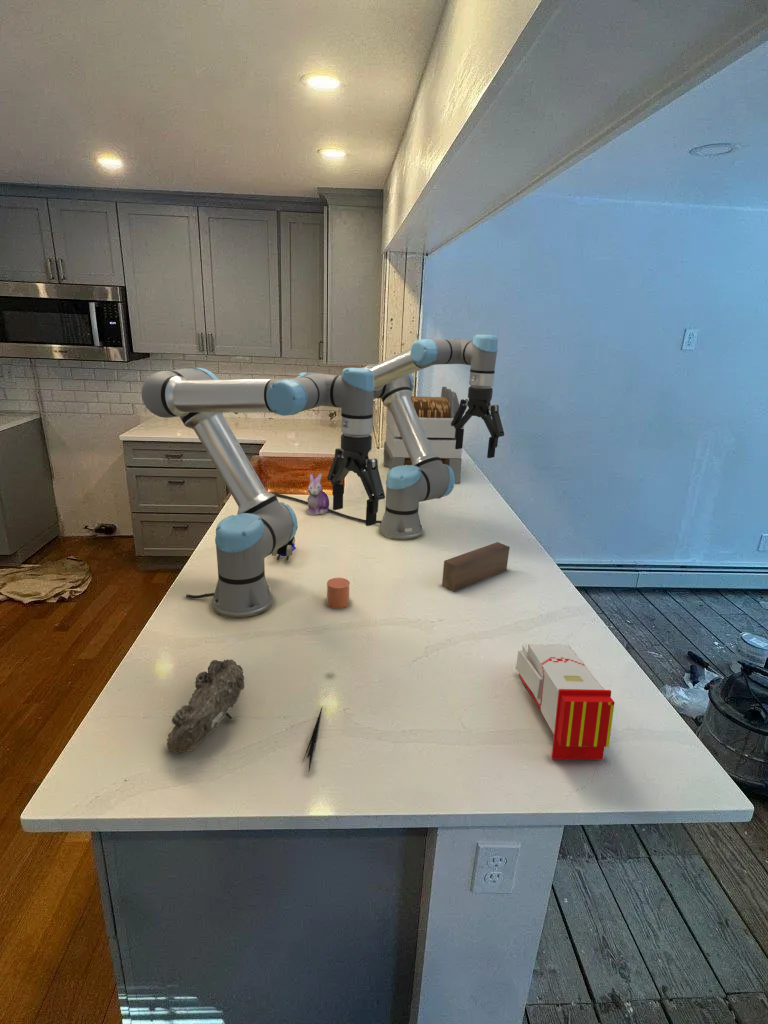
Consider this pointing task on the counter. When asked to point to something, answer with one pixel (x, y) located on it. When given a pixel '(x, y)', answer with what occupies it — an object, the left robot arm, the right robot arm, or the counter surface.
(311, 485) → the figurine
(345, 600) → the orange clay cylinder
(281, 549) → the figurine character
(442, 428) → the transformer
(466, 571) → the beam
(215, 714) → the fossil
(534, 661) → the toy
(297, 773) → the counter surface
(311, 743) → the feather
